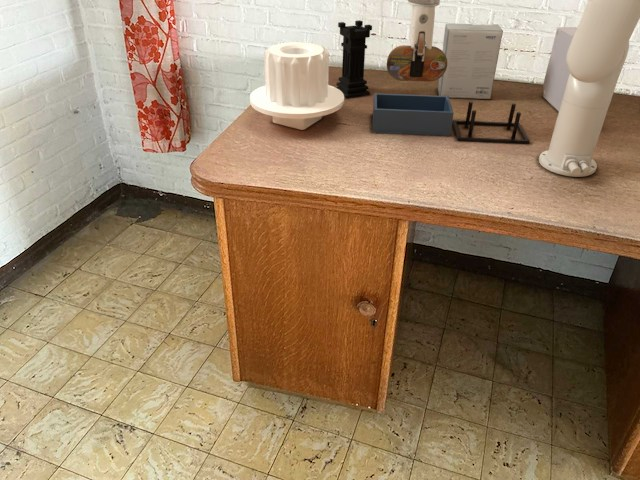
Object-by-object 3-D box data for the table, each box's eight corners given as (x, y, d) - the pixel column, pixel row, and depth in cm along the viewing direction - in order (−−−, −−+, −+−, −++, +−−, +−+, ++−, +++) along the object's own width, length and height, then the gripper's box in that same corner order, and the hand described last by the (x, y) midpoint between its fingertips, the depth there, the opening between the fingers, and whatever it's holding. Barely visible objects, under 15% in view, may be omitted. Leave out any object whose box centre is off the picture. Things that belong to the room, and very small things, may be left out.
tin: (385, 80, 138) (388, 46, 133) (385, 75, 141) (388, 42, 136) (444, 82, 137) (450, 49, 132) (443, 78, 140) (448, 45, 135)
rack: (529, 144, 137) (535, 117, 133) (457, 140, 138) (462, 114, 134) (519, 125, 146) (524, 100, 142) (452, 122, 148) (456, 97, 144)
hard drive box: (487, 91, 169) (499, 24, 157) (490, 99, 162) (504, 30, 151) (436, 89, 170) (445, 22, 158) (438, 97, 164) (448, 28, 152)
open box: (450, 136, 140) (453, 112, 137) (372, 132, 142) (373, 109, 138) (445, 118, 150) (448, 96, 147) (372, 115, 151) (374, 93, 148)
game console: (577, 130, 144) (599, 54, 133) (539, 95, 166) (556, 27, 155) (598, 130, 144) (623, 54, 133) (558, 94, 167) (576, 27, 155)
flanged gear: (359, 114, 152) (363, 45, 141) (312, 147, 134) (313, 70, 123) (284, 98, 162) (282, 32, 151) (232, 126, 144) (226, 53, 133)
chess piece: (334, 90, 168) (336, 22, 157) (357, 86, 171) (360, 19, 160) (346, 98, 162) (349, 28, 151) (369, 94, 165) (374, 26, 154)
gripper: (443, 4, 121) (433, 85, 131) (437, -10, 134) (427, 65, 145) (409, 3, 121) (401, 84, 132) (406, -10, 135) (399, 64, 145)
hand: (415, 74), depth 138 cm, fingers closed on tin, 2 cm apart
